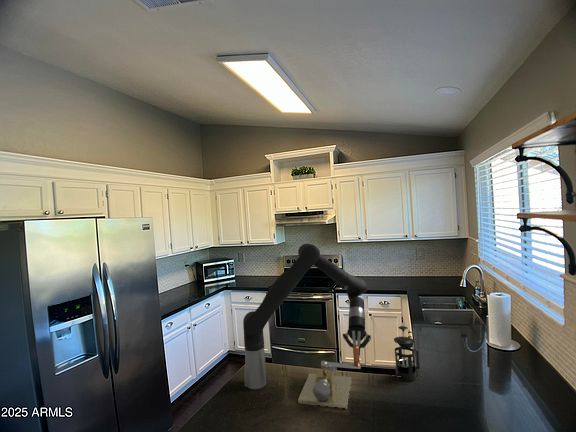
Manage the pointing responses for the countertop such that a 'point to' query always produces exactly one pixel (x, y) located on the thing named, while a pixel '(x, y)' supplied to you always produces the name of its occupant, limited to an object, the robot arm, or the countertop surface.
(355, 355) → the valve lever
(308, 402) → the valve
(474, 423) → the countertop surface
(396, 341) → the french press
